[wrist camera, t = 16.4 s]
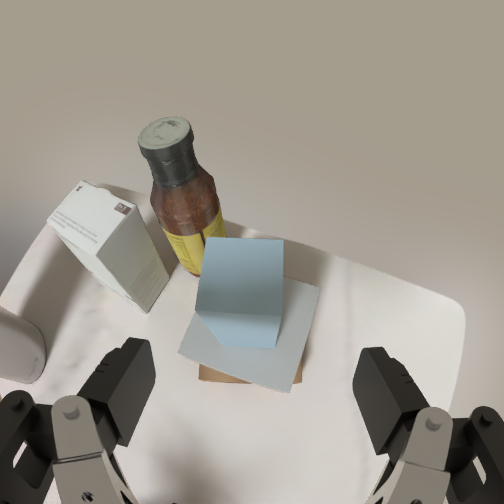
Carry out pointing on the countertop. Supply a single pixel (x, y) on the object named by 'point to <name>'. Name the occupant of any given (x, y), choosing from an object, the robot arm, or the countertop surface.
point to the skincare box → (111, 243)
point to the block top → (260, 359)
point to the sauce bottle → (181, 190)
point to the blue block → (242, 290)
